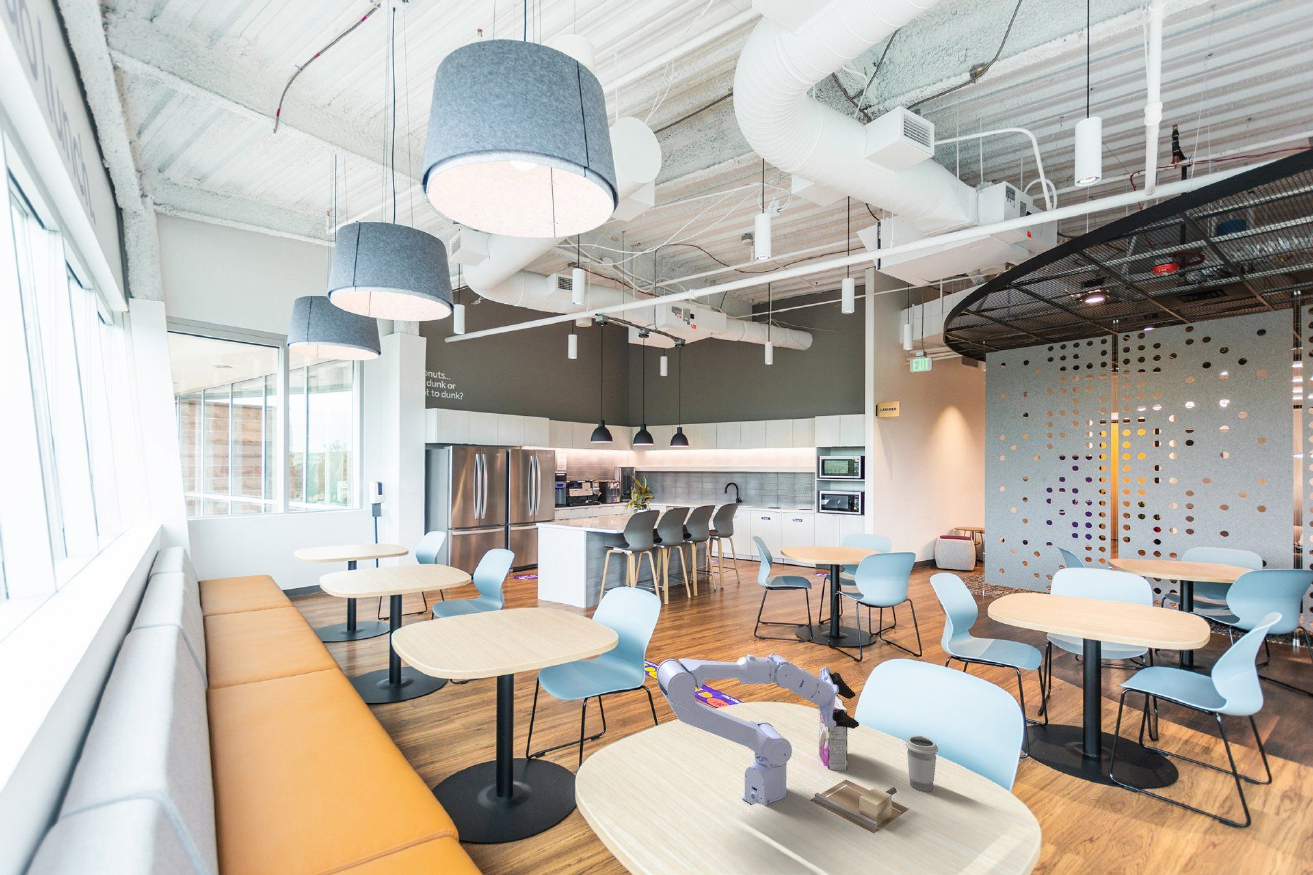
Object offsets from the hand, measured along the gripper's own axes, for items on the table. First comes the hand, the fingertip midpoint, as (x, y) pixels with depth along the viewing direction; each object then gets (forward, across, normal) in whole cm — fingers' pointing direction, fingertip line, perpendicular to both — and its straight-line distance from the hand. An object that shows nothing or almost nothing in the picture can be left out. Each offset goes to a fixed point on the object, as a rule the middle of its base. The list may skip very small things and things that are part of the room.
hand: (854, 710), depth 157 cm
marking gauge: (+6, -21, +1) cm, 22 cm away
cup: (+20, -11, +1) cm, 23 cm away
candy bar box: (+9, -3, +18) cm, 20 cm away
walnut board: (+4, -20, +6) cm, 21 cm away
